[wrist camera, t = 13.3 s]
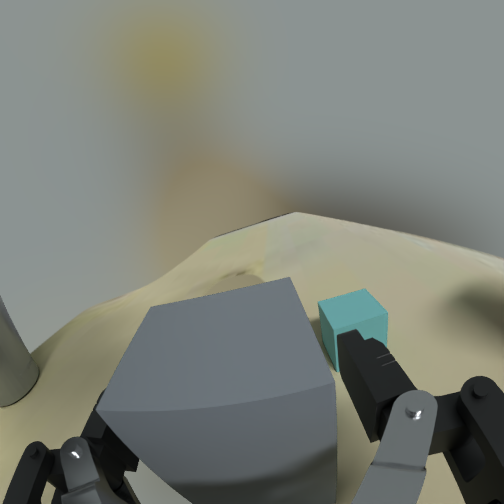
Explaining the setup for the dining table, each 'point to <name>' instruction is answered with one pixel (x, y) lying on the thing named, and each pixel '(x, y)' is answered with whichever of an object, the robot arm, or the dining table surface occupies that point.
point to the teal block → (351, 319)
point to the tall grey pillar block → (230, 399)
